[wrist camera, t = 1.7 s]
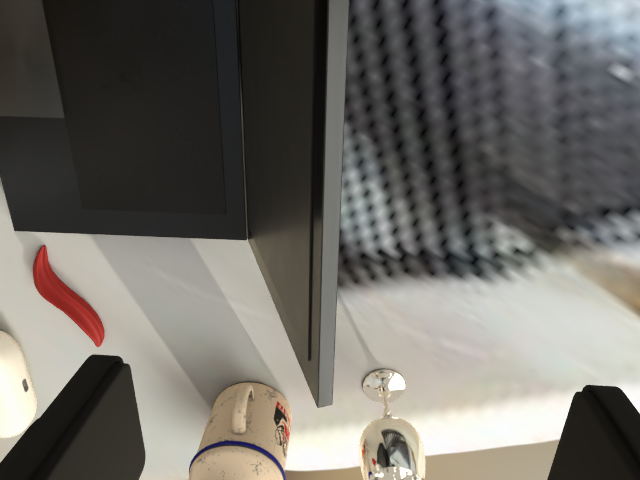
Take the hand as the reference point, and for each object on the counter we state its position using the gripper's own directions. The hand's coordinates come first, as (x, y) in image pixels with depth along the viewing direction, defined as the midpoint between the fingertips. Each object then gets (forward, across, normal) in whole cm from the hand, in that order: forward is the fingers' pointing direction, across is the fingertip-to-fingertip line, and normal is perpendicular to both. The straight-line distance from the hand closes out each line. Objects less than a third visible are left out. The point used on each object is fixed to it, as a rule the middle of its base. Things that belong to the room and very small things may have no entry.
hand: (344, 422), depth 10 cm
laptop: (+32, +19, -5) cm, 37 cm away
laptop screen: (+20, +5, -5) cm, 21 cm away
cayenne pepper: (+32, +27, +18) cm, 45 cm away
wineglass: (+32, -5, +27) cm, 42 cm away
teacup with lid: (+32, +9, +30) cm, 45 cm away
